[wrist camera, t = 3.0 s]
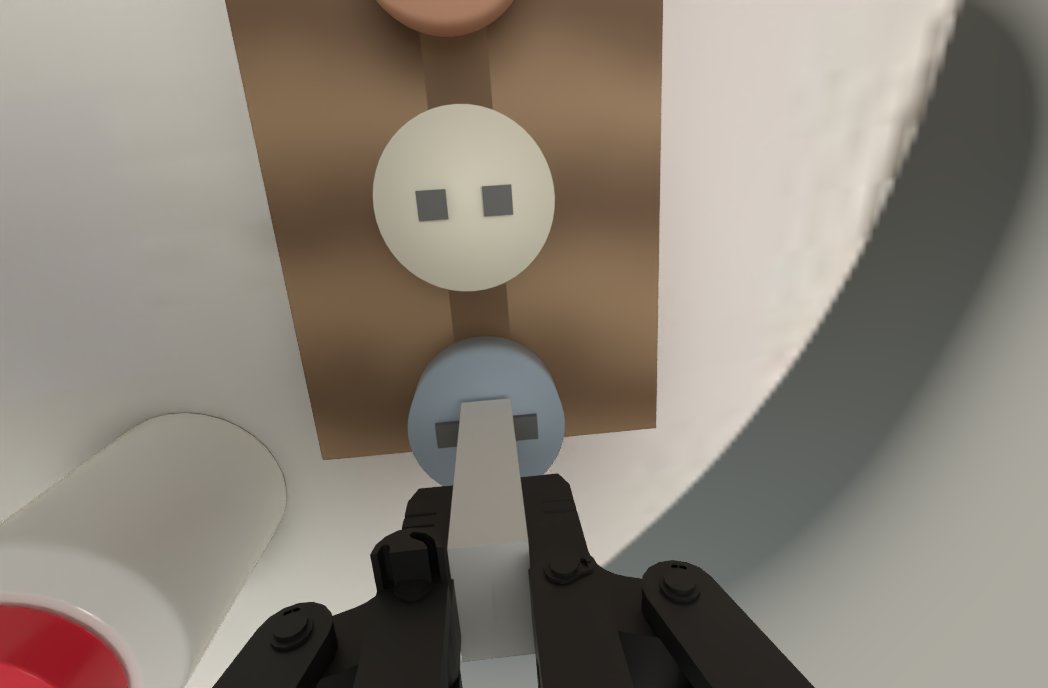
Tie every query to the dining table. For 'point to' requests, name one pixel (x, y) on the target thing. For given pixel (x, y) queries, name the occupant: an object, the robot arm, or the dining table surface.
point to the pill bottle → (135, 556)
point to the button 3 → (483, 376)
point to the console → (368, 264)
